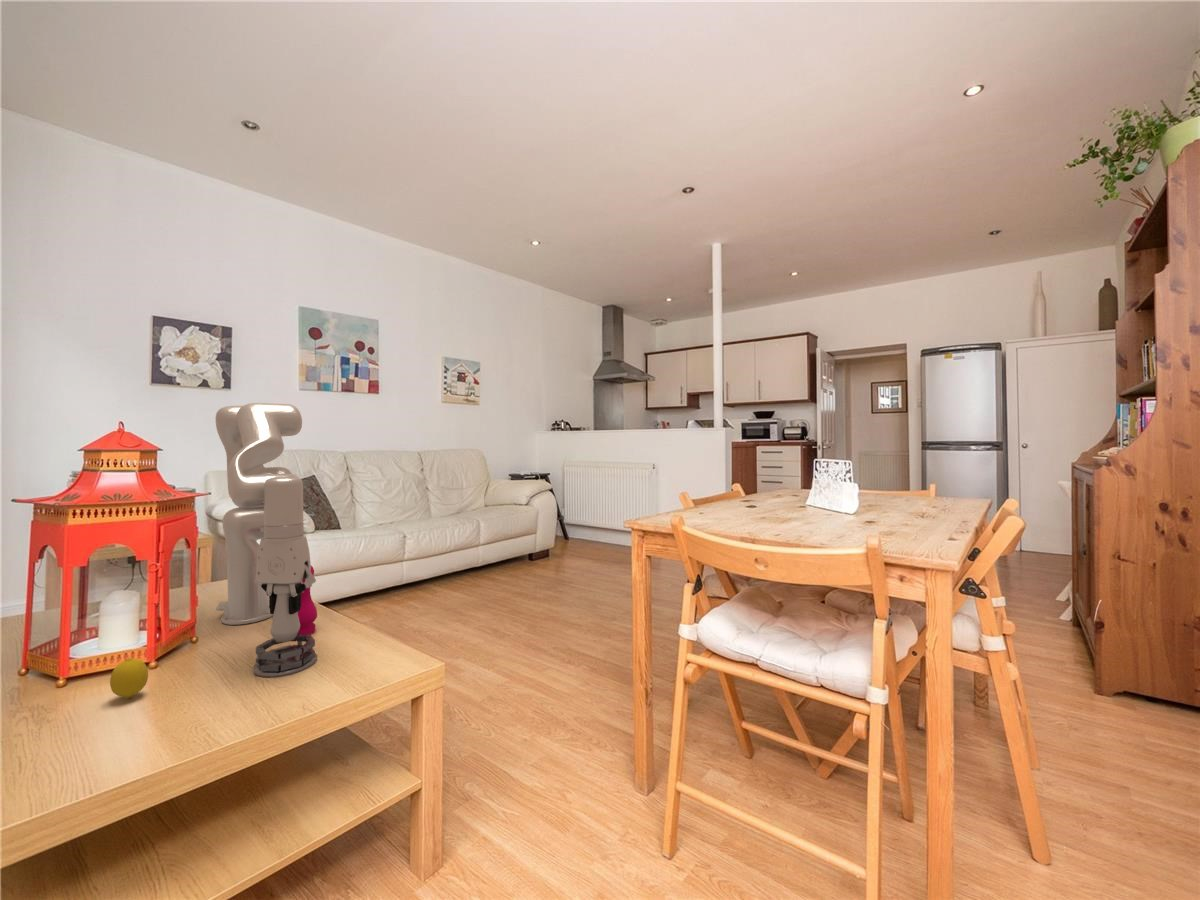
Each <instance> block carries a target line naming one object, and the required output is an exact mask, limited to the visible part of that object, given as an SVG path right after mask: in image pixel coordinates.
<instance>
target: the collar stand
mask: <svg viewBox="0 0 1200 900" xmlns="http://www.w3.org/2000/svg"><path fill="white" fill-rule="evenodd" d="M288 642H296V643H297V644H292V645H285V646H281V647H277V648H273V649H270V650H269V648H271V647H273V646H276V645H281V644H285V643H288ZM303 642H305V643H304V644H303ZM315 646H316V640H315V638H314V637H313V636H312V634H310V635H308V634H297V636H296V637H295V638H294V640H291V641H287V642H276V641H275V639H274V638H273V637H272V638H270V639H267V640H265V641H263V642H262V643H260V644H258V645H257V646H255V654H256V659H255V664H254V665H253V667H252V672H253V674H254V676H257V677H259V678H268V679H269V678H280V677H285V676H292V675H294V674H297V673H300V672H303V671H305V670H307V669H309V668H311V667H313V665H315V664H316V663H317V662H318V655H317V653H316V650H315V649H314V647H315ZM266 650H268V651H266Z"/></svg>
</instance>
